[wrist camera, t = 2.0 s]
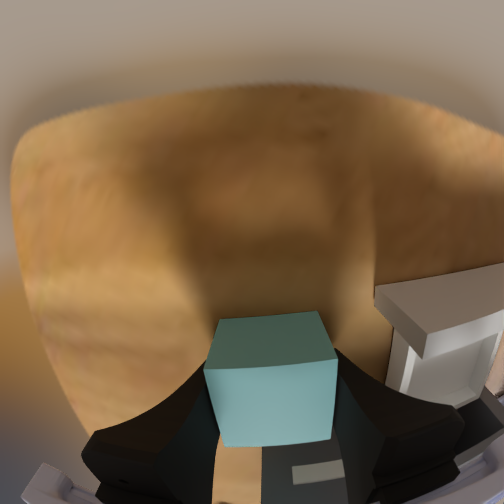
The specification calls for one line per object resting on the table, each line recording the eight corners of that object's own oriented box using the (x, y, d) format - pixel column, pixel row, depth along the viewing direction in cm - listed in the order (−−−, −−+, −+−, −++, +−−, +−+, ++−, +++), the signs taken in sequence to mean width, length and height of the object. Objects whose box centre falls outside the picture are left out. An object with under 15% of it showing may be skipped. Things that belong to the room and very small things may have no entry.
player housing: (479, 377, 13) (521, 423, 7) (441, 455, 15) (463, 497, 9) (261, 431, 14) (260, 515, 8) (271, 495, 16) (271, 551, 10)
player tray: (506, 261, 11) (559, 283, 6) (478, 379, 13) (511, 415, 8) (375, 285, 12) (427, 334, 7) (359, 419, 13) (380, 477, 9)
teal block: (317, 310, 12) (337, 358, 8) (316, 384, 13) (330, 439, 9) (219, 319, 12) (203, 369, 9) (232, 391, 13) (224, 447, 9)
